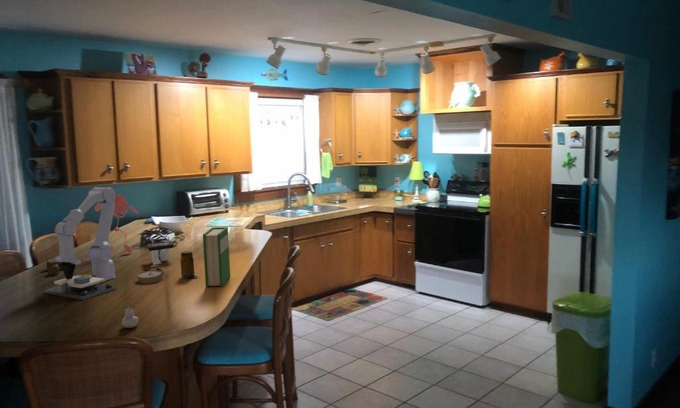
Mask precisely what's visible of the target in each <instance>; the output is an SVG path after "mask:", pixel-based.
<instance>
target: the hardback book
mask: <svg viewBox="0 0 680 408" xmlns="http://www.w3.org/2000/svg"><path fill="white" fill-rule="evenodd" d="M202 240H203V241H202V243H203V245H202V246H203V261H204V262H203V264H204V277H205V279H204V280H205V288H207V289H208V288H209V287H211V286H212V287H215V286H216V287H217V286H220V288H224V286H225V284H226V283H227V282H228V281H229V280H230V278H231V266H230V265H231V263H230V246H229V245H230V242H229V241H230V240H229V227H228V226H223V227H222V226H221V227H220V226H219V227H217V226H216V227H211V228H209V229H208V230H207V231H205V232H204V233H202Z"/></svg>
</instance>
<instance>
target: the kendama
mask: <svg viewBox="0 0 680 408" xmlns="http://www.w3.org/2000/svg"><path fill="white" fill-rule="evenodd" d="M59 264H62V262H56V261H55V260H52V259H49V258H47V259H46V270H47V273H48V275H49V276H51V275H52V276H57V275H59V273H60V269H61V267H60V266H59Z"/></svg>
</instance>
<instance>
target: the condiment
mask: <svg viewBox="0 0 680 408" xmlns="http://www.w3.org/2000/svg"><path fill="white" fill-rule="evenodd" d="M194 259H195V258H194V256H193V252H192V251H181V253H180V275H181V276H180V277H178V279H179V280H180V279H181V280H184V279H197V278H199V277H200V276H201V274H196V273H195V261H194Z"/></svg>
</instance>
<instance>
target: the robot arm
mask: <svg viewBox="0 0 680 408" xmlns="http://www.w3.org/2000/svg"><path fill="white" fill-rule="evenodd" d="M116 195H117V194H116V192H115V191H114V189H113V188H112V187H98V186H94V187H92V188H91V189H90V191H88V194H87V196H86V197H85V199H84V200H83V201H82V202H81V204H80V205H79V206H78V207H77V209H76V208H75V209H73V210H72V209H71V210H69V213H68V215H67V216H66V217H64V218H63V220H62V221H60V222H58V223H57V224H55V228H54V233H55V234H56V235H57V238H58V250H59V256H57V257H55V258H54V259H55V260H54V261H56V262H62V264H59V266H60V269H61V270H62V272H63V274H64V276H65V279H72V278H73V276H74V274H75V273H74V272H75V269H76V266H78V265H81V259H80V258H77V257H75V247H74V246H75V244H74V234H75V233H76V229H77V226H78V225H79V224H80V223H81V221H82V220H83V219H85V213H87V211H89V209H90V208H92V206H94V204H96V203H97V204H99V205H100V206H101V207H102V210H100V215H99V221H98V226H97V230H96V231H97V232H96V235H95V240H94V241H93V242H92V243H90V246H89V248H88V250H87V253H86V255H87V258H88V259H89V261H90V262H91V269H92V270H91V271H92V275H96V278H104V279H105V281H104V282H106V281H108V280H109V281H110V280H112V279H116V278H117V276H116V270H115V267H116V266H115V263H114V261H113V260H112V259H111V258H112V252H111V245H112V244H110V242H108V240H109V238H110V234H111V233H110V232H111V227H112V223H113V217H114V216H113V213H114V208H115V202H114V200H115V197H116ZM109 233H110V234H109Z"/></svg>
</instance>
